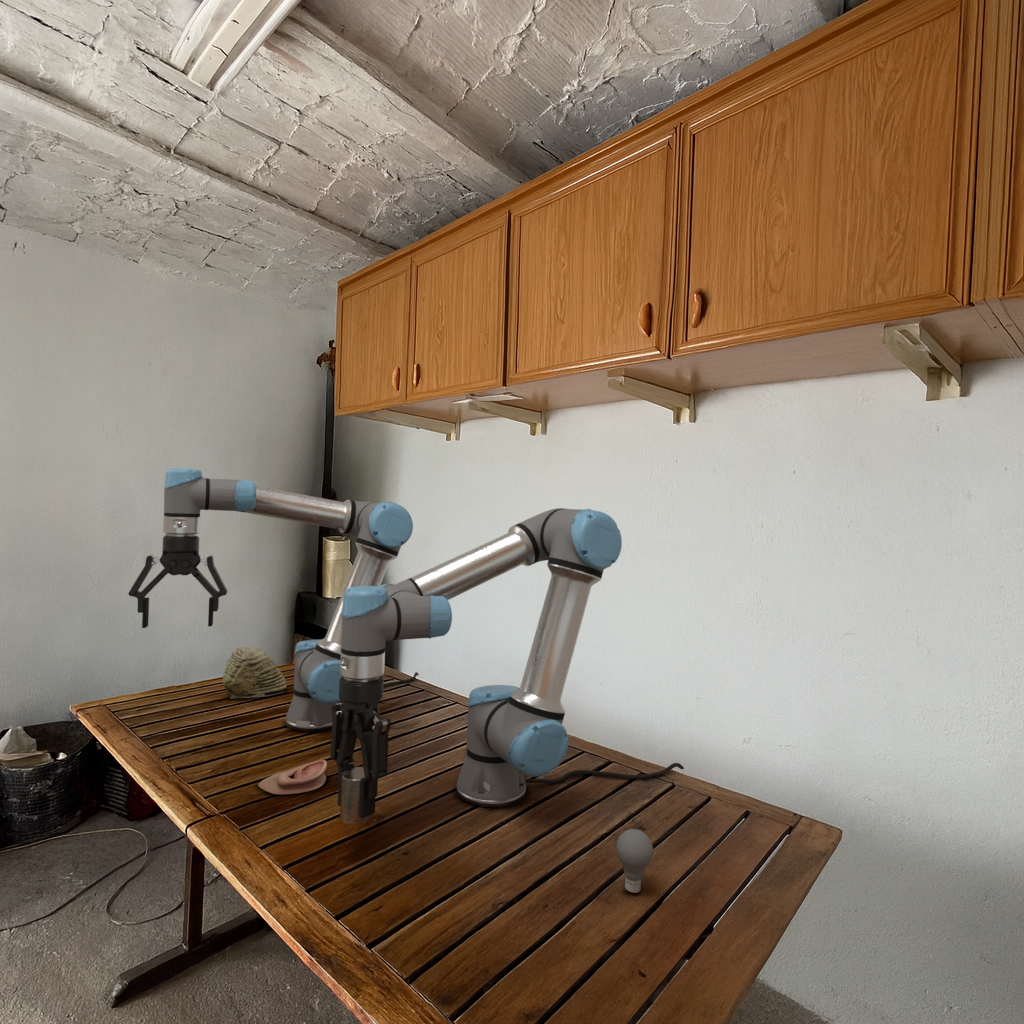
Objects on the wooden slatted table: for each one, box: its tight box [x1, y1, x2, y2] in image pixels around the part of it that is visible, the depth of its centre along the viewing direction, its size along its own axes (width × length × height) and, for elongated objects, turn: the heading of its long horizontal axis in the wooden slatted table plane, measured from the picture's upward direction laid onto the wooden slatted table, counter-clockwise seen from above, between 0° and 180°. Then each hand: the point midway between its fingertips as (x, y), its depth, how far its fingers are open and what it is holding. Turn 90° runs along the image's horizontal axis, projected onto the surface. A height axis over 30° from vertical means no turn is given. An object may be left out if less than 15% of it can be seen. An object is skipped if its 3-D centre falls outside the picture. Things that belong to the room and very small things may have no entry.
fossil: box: [222, 646, 288, 699], centre depth 198 cm, size 9×18×15 cm, turn 132°
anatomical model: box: [257, 759, 328, 795], centre depth 139 cm, size 13×4×12 cm
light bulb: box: [615, 828, 654, 894], centre depth 106 cm, size 6×6×10 cm
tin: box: [339, 766, 372, 826], centre depth 110 cm, size 5×5×8 cm
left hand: (178, 626), depth 147 cm, fingers open, 13 cm apart
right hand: (356, 808), depth 110 cm, fingers closed on tin, 5 cm apart
